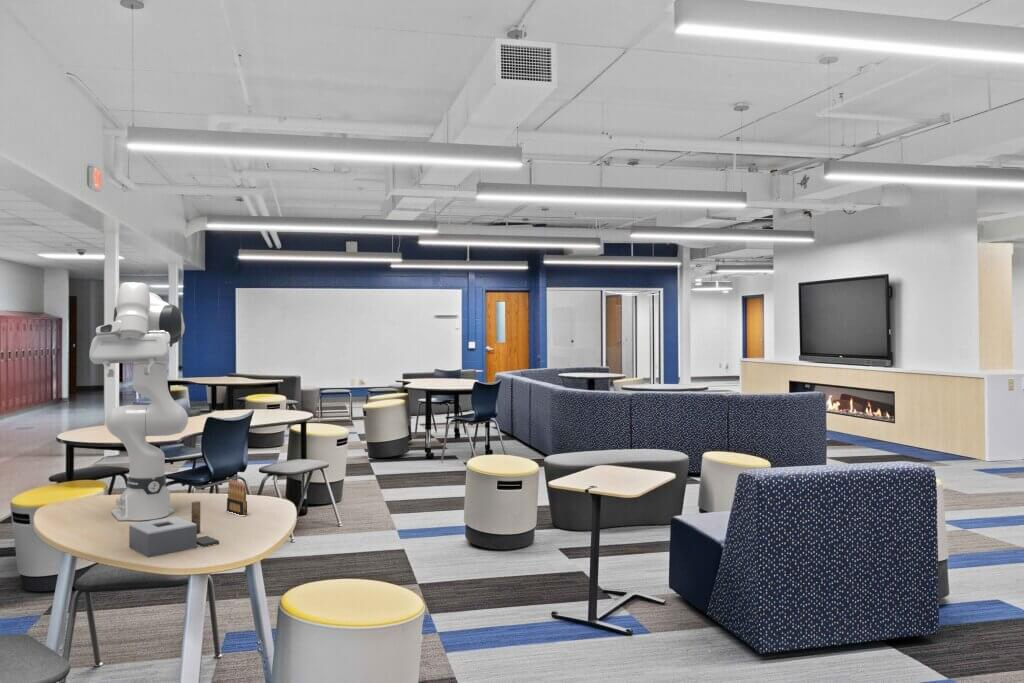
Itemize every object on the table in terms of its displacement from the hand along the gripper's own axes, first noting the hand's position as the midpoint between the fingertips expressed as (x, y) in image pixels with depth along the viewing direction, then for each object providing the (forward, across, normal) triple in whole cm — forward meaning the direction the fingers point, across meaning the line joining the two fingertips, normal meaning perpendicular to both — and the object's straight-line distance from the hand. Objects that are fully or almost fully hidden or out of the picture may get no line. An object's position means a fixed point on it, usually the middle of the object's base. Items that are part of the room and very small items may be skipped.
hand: (128, 375), depth 210 cm
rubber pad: (+41, -16, -37) cm, 57 cm away
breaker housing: (+41, -5, -34) cm, 54 cm away
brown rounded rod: (+35, -12, -48) cm, 61 cm away
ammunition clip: (+24, -22, -71) cm, 78 cm away
